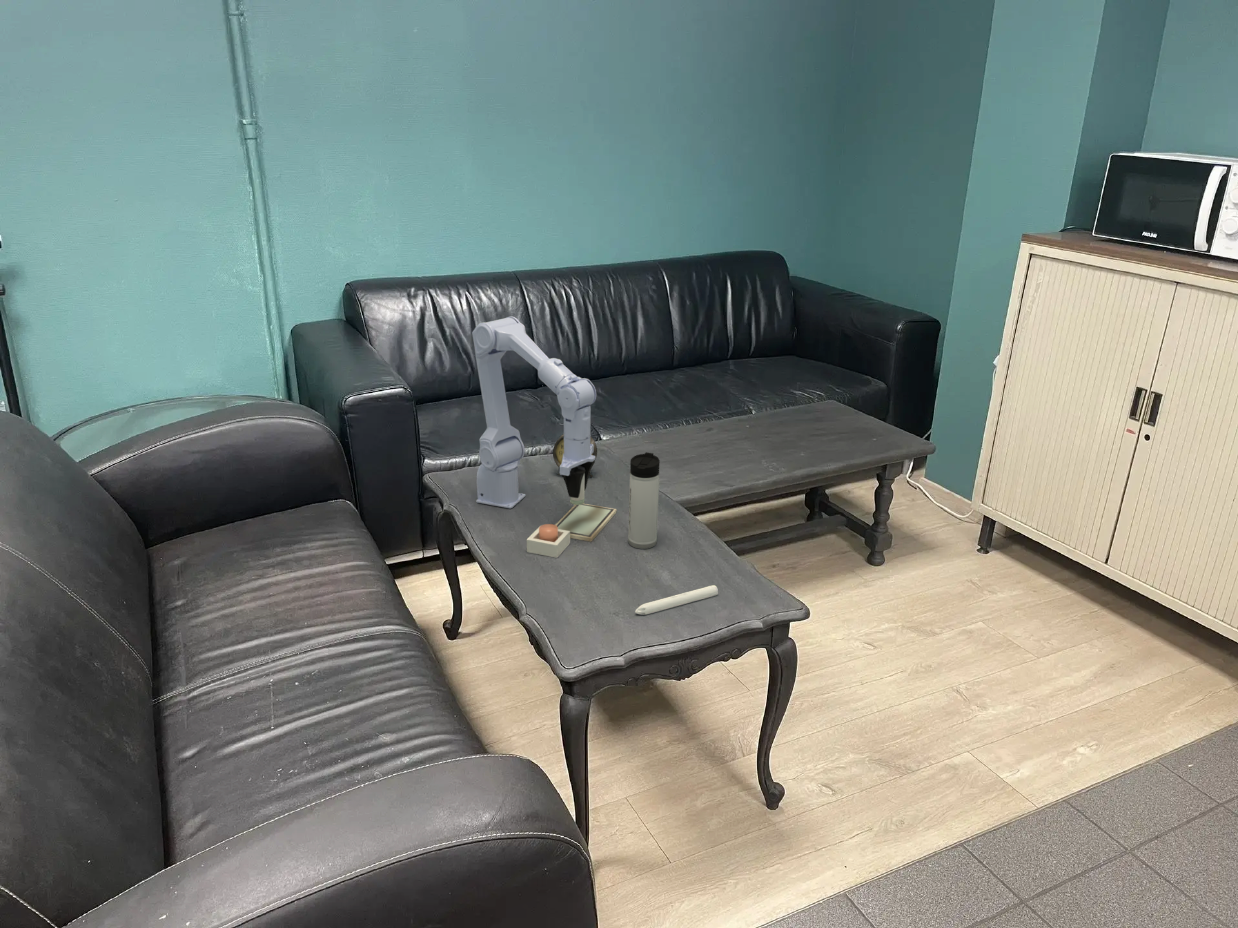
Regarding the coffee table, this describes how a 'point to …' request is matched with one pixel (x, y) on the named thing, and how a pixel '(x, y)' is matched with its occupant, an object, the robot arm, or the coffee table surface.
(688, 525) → the coffee table surface
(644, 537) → the travel mug
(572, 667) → the coffee table surface
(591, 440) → the alarm clock
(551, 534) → the button
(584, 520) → the picture frame
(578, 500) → the cylinder
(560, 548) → the button housing
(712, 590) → the marker
